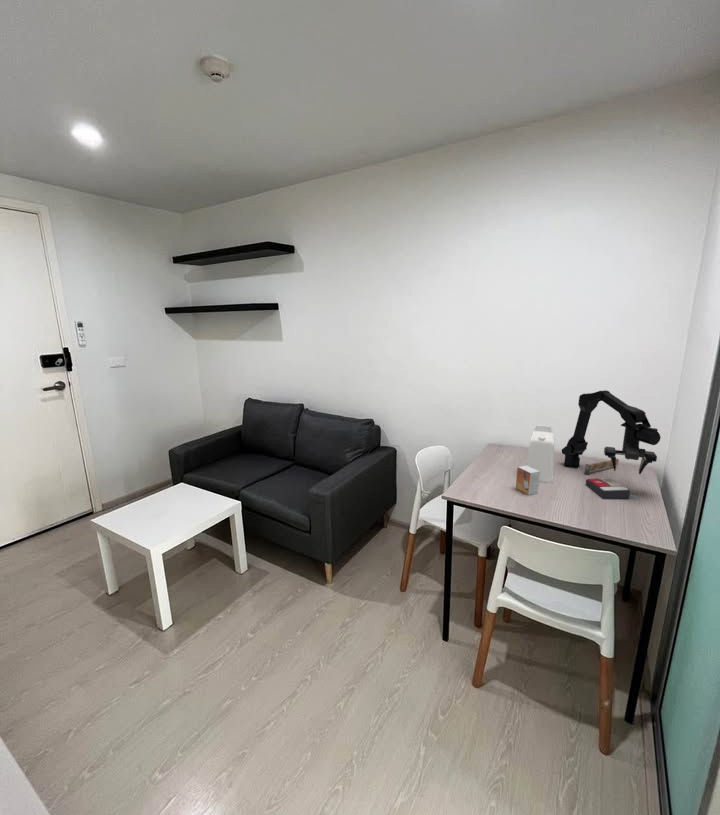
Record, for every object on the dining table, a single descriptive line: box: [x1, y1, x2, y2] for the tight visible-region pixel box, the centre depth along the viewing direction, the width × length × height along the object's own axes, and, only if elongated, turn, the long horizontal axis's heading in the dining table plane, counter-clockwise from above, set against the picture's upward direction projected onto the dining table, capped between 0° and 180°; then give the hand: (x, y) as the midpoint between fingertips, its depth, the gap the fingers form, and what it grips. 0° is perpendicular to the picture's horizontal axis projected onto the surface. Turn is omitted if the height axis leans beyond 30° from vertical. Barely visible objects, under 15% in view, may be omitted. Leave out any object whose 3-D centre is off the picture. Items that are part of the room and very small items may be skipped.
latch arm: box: [584, 458, 620, 476], centre depth 199 cm, size 23×2×5 cm, turn 114°
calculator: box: [585, 477, 631, 500], centre depth 176 cm, size 11×4×15 cm
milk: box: [526, 424, 556, 484], centre depth 192 cm, size 12×12×26 cm
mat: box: [629, 494, 640, 499], centre depth 177 cm, size 9×13×1 cm
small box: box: [515, 465, 540, 496], centre depth 178 cm, size 8×6×10 cm
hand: (626, 472), depth 176 cm, fingers open, 9 cm apart
